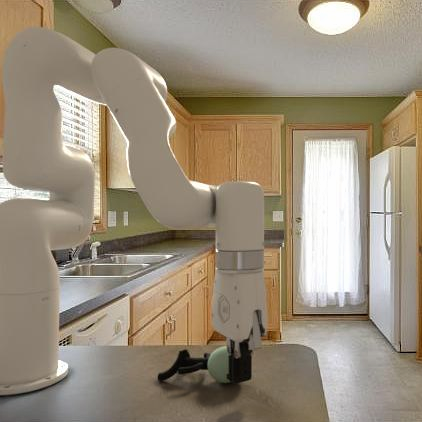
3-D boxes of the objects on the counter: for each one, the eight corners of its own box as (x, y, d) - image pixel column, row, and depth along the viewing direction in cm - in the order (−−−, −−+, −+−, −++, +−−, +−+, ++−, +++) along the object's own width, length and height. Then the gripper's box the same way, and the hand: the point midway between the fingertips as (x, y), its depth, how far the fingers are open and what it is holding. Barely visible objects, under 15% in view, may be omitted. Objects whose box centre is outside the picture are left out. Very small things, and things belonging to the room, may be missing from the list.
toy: (153, 389, 65) (236, 392, 61) (152, 353, 65) (234, 354, 61) (183, 370, 74) (256, 371, 70) (181, 338, 74) (254, 338, 71)
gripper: (197, 259, 63) (197, 370, 63) (242, 267, 51) (243, 406, 51) (237, 256, 68) (237, 360, 67) (287, 263, 56) (288, 391, 55)
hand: (240, 380), depth 59 cm, fingers closed
